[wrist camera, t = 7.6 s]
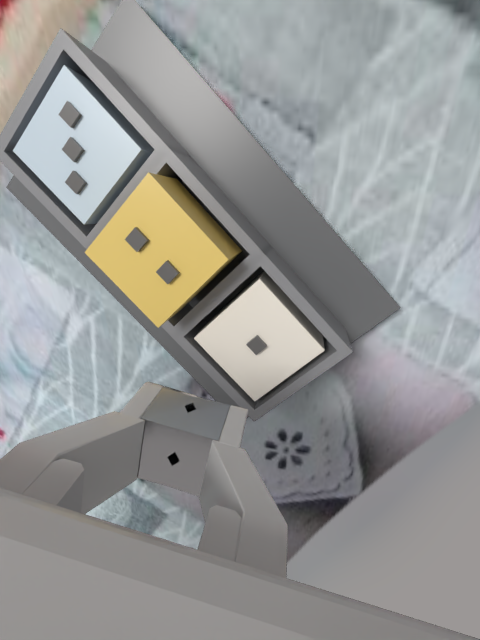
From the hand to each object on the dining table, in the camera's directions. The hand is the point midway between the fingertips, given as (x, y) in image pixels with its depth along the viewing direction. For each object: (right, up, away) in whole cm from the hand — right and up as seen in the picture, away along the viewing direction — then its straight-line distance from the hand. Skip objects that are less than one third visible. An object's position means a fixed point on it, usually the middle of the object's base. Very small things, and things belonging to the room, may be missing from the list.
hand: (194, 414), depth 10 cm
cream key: (+3, +2, +9) cm, 10 cm away
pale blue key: (-6, +11, +8) cm, 15 cm away
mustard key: (-2, +6, +7) cm, 10 cm away
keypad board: (-1, +7, +10) cm, 12 cm away
